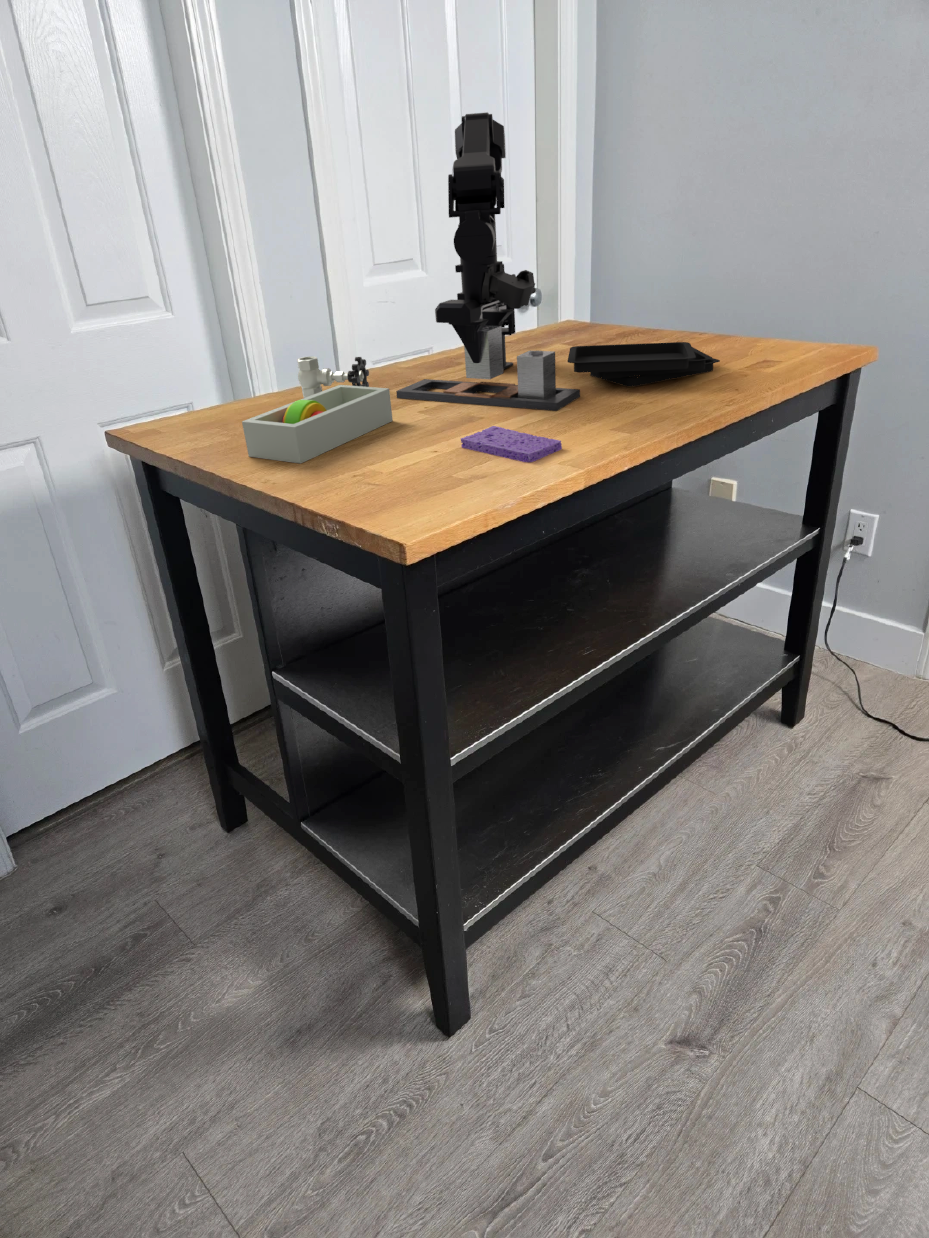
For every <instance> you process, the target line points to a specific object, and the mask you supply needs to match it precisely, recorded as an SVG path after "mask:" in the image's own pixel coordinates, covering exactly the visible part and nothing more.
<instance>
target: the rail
mask: <svg viewBox="0 0 929 1238" xmlns="http://www.w3.org/2000/svg"><path fill="white" fill-rule="evenodd" d="M431 389H437V390H438V389H439V390H444V391H441V392H440V391H429V390H431ZM479 392H481V393H479ZM485 393H488V394H485ZM489 393H494V394H489ZM580 397H581V389H579V388H567V387H565V388H563V387H556V395H555V396H553V397H551V398H550V399H548V400H538V399H525V398H518V384H516V383H510V382H508V383H507V382H493V381H480V382H475V381H474V382H473V381H463V380H462V381H459V380H458V381H457V380H446V379H445V380H444V379H430V378H429V379H428V378H424V379H422V380H419V381H416V382H415V383H412V384H410V385H407V386H405V387H403V388H400V389H398V390H396V398H397V399H403V400H405V399H406V400H417V401H431V402H441V403H442V402H443V403H456V404H464V405H465V404H466V405H480V406H492V407H505V408H516V409H517V408H518V409H528V410H529V409H530V410H542V411H552V412H554V411H555V412H557V411H558V410H561V409H562V408H564V407H566V406H567V405H569V404H571V403H573V401H576V400H577V399H579V398H580Z"/></svg>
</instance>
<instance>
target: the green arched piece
mask: <svg viewBox="0 0 929 1238" xmlns="http://www.w3.org/2000/svg"><path fill="white" fill-rule="evenodd" d="M293 402H294V403H292V402H291V403H292V404H291V405H290V406H289V407H288V408H287V410H286V412H285V415H284V417H283V421H282V423H288V424H295V423H298V422H300V421H303V420H305V419H308V418H310V417H313V416H315V415H317V414H320V413H322V412H325V411H327V410H326V408H325V407H324V406H323V405H321V404H320V403H319V402H317V401H314V400H300V399H298V400H296V401H293Z"/></svg>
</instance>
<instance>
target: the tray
mask: <svg viewBox="0 0 929 1238" xmlns="http://www.w3.org/2000/svg"><path fill="white" fill-rule="evenodd" d="M720 361H721V360H720V359H717V358H713V356H710V355H709V354H707V353H705V352H703V351H701V350H699V349H697V348H695V347H693V346H692V345H691V343H690V342H687V341H673V342H670V341H669V342H649V343H647V342H646V343H625V344H623V343H622V344H619V343H618V344H598V345H578V346H577V345H576V346H570V348H569V351H568V356H567V363H569V364H573V372H574V373H576V374H578V373H579V374H580V373H581V374H584V373H585V374H586V373H589V376H590V377H594V378H597V379H599V380H603V381H607V382H611V383H614V384H618V385H620V386H623V387H639V386H644V385H649V384H650V385H651V384H654V383H660V382H664V381H669V380H676V379H679V378H684V377H689V376H694V375H700V374H705V373H706V374H707V373H710V372H712V371H713V370H714V364H716V363H719V362H720Z"/></svg>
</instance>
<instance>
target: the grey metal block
mask: <svg viewBox="0 0 929 1238" xmlns="http://www.w3.org/2000/svg"><path fill="white" fill-rule="evenodd" d="M516 367H517V368H516V369H517V385H518V398H525V399H538V400H548V399H550V398H551V397H553V396H555V395H556V388H557V385H556V382H557V381H556V378H557V377H556V376H557V375H556V372H557V371H556V351H552V350H551V351H550V350H540V349H539V350H530V349H529V350H528V351H526V352H523V353H521V354H519V355H516Z"/></svg>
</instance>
